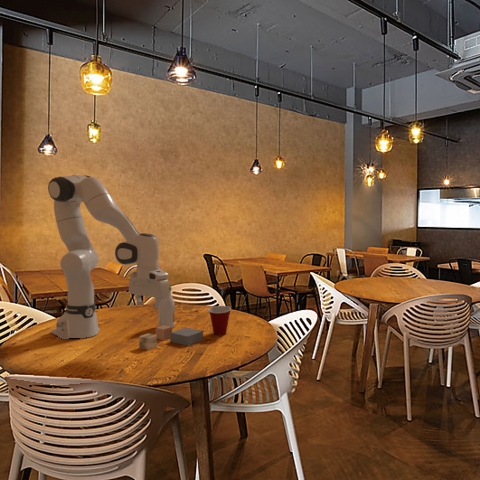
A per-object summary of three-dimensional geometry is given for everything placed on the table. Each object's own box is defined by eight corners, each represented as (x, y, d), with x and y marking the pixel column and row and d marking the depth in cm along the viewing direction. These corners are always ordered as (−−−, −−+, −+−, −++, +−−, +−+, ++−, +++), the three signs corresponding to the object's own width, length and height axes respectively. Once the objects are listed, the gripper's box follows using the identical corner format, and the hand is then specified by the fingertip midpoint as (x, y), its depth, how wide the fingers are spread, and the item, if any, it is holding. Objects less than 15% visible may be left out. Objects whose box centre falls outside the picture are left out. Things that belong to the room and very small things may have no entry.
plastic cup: (202, 333, 183) (203, 308, 182) (219, 329, 191) (219, 304, 190) (219, 338, 176) (219, 312, 175) (235, 333, 183) (236, 308, 183)
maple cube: (139, 348, 162) (139, 336, 162) (148, 345, 166) (148, 333, 166) (147, 350, 159) (147, 338, 159) (156, 347, 163) (156, 335, 163)
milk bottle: (171, 329, 189) (171, 288, 188) (155, 328, 191) (155, 287, 190) (176, 325, 197) (176, 285, 196) (162, 324, 198) (162, 284, 197)
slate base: (170, 341, 170) (170, 332, 170) (185, 336, 179) (185, 327, 179) (187, 345, 165) (188, 336, 165) (203, 340, 173) (203, 331, 173)
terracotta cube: (155, 338, 175) (155, 327, 174) (163, 336, 179) (163, 325, 179) (163, 340, 172) (163, 329, 172) (171, 338, 176) (171, 326, 176)
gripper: (124, 272, 164) (125, 304, 165) (160, 276, 153) (160, 311, 153) (136, 270, 169) (136, 302, 170) (171, 274, 158) (171, 308, 159)
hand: (148, 306), depth 162 cm, fingers open, 8 cm apart
